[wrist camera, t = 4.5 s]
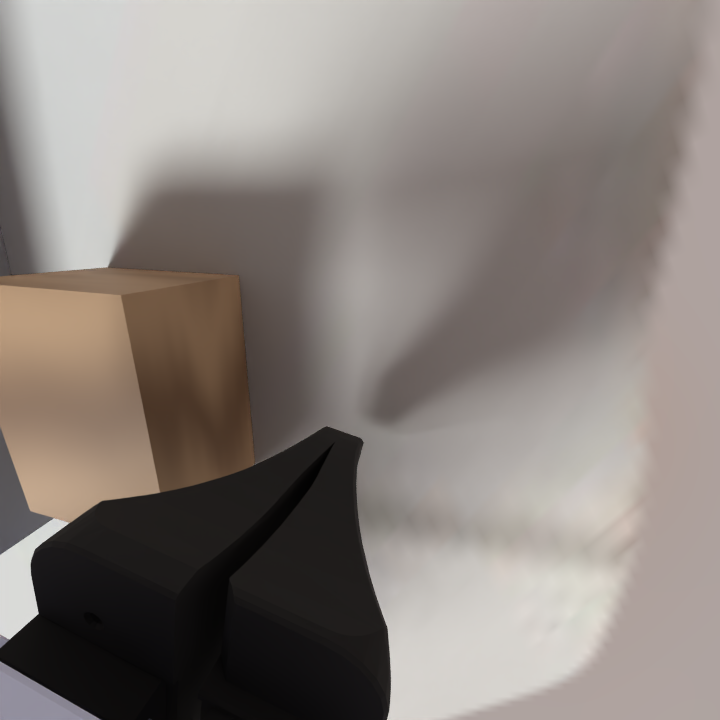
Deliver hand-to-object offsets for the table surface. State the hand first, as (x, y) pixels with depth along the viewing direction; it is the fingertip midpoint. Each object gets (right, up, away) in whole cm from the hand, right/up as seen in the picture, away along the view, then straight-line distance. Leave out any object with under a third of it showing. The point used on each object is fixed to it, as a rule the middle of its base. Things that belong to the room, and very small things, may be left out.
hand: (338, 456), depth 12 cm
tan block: (-7, +3, +3) cm, 8 cm away
